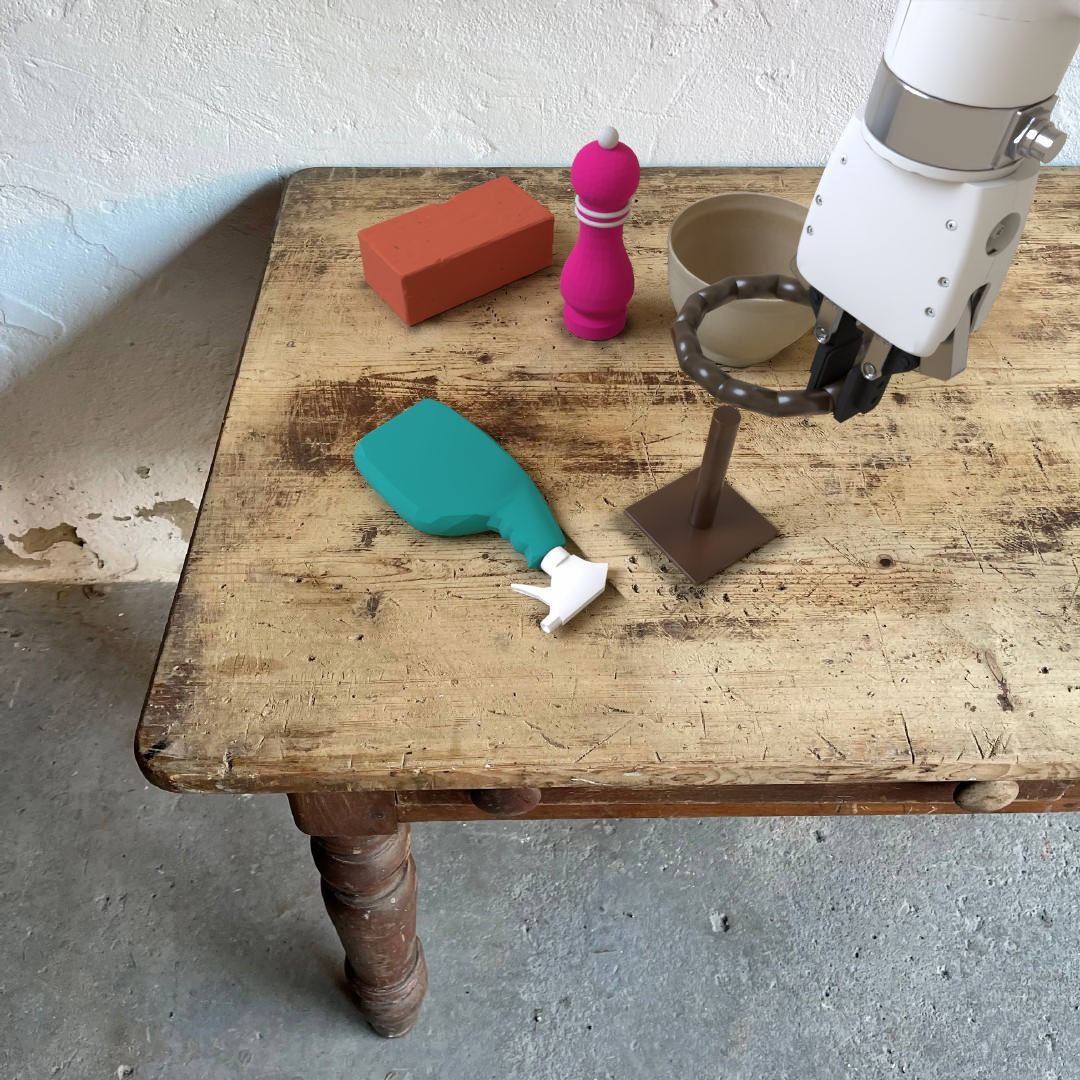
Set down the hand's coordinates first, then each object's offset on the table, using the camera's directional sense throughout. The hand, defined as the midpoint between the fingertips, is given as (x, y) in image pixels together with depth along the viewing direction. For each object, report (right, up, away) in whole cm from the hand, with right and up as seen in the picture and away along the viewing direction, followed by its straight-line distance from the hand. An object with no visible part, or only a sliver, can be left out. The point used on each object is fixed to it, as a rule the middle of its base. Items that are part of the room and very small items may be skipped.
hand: (839, 399), depth 55 cm
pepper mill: (-13, +13, +34) cm, 39 cm away
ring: (-3, +4, +2) cm, 6 cm away
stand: (-5, -8, +18) cm, 21 cm away
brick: (-27, +19, +39) cm, 51 cm away
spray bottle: (-23, -7, +19) cm, 31 cm away
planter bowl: (+1, +11, +33) cm, 35 cm away
